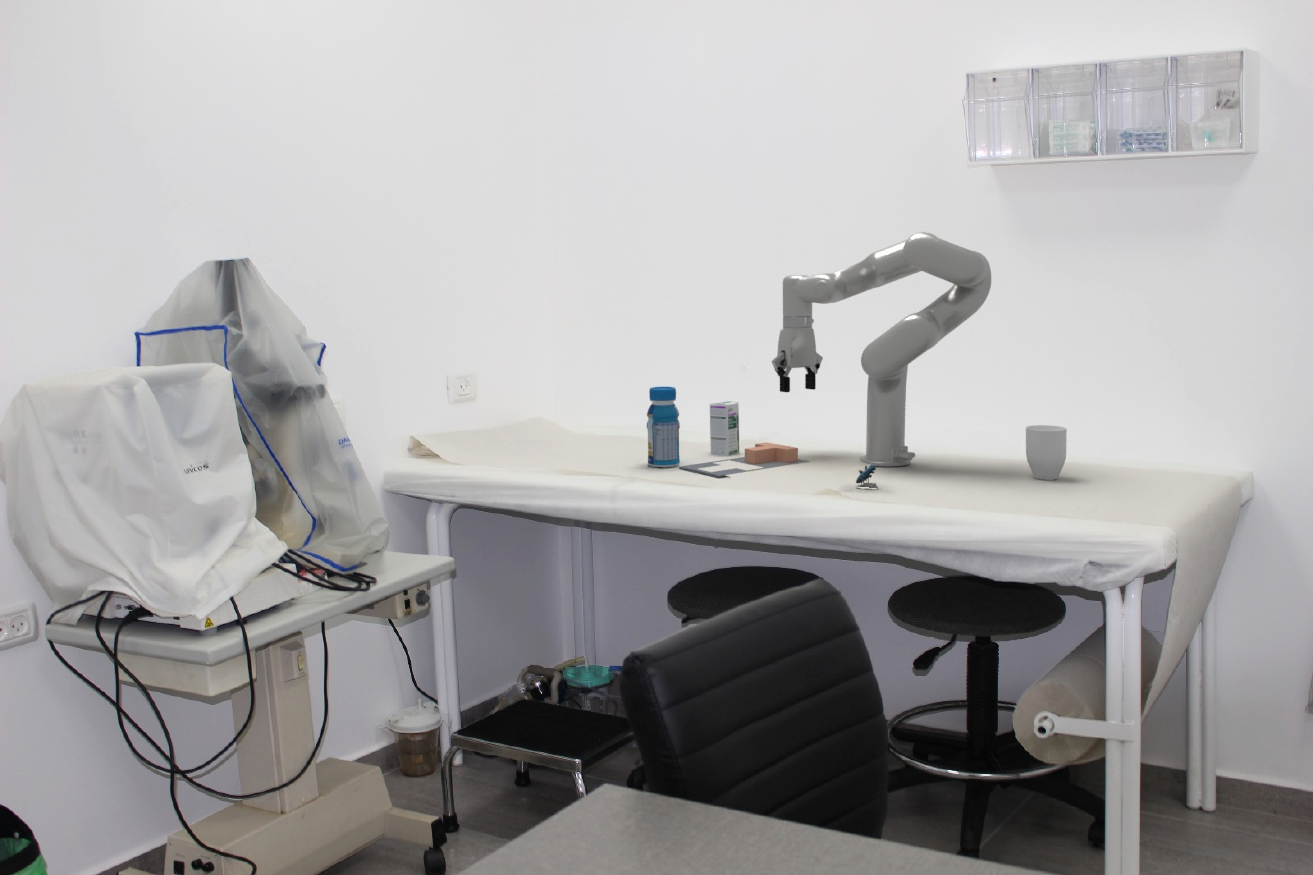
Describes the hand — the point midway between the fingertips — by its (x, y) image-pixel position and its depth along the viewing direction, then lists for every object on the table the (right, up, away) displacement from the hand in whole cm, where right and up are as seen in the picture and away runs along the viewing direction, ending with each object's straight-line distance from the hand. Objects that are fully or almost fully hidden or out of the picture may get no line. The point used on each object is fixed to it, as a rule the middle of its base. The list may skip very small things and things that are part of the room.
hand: (797, 390), depth 265 cm
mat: (-14, -20, -7) cm, 25 cm away
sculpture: (+10, -24, -37) cm, 45 cm away
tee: (-9, -18, -4) cm, 20 cm away
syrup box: (-18, -17, +8) cm, 27 cm away
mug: (+54, -22, -27) cm, 64 cm away
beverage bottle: (-35, -20, -4) cm, 40 cm away
